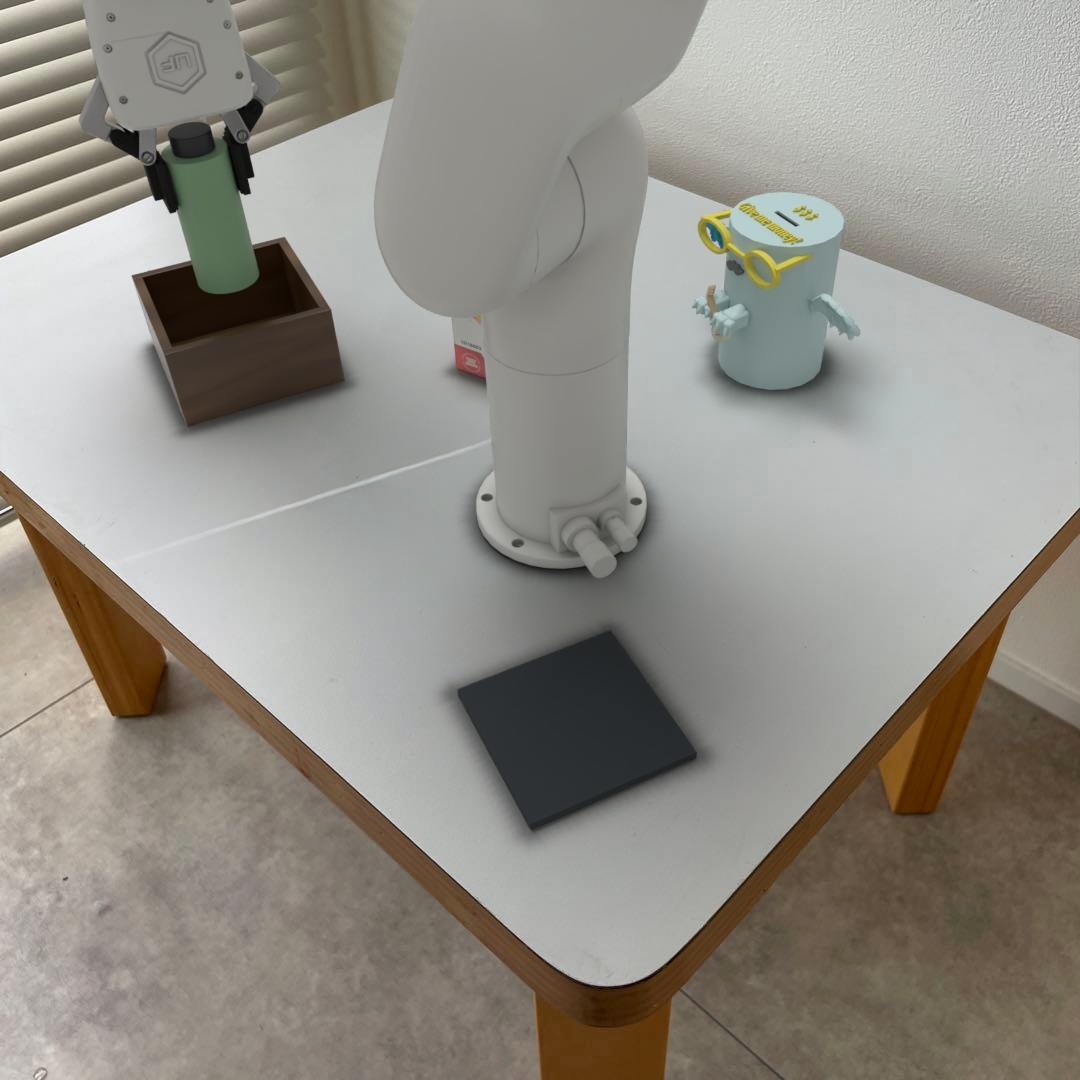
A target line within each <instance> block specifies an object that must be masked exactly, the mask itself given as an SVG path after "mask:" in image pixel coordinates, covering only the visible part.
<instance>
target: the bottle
mask: <svg viewBox="0 0 1080 1080" xmlns="http://www.w3.org/2000/svg"><path fill="white" fill-rule="evenodd" d="M167 138H168V142H169V144H168V145H167V146H165V147H164V148H163V149H162V150H161V152H160V155H161V157H162V159H163V160H164V162H165V164H166V167H167V171H168V174H169V178H170V181H171V185H172V188H173V192H174V195H175V199H176V202H177V206H178V209H179V210H176V213H177V216H178V220H179V224H180V227H181V230H182V234H183V238H184V241H185V243H186V245H185V246H186V249H187V252H188V254H189V258H190V260H191V262H192V265H193V269H194V272H195V276H196V279H197V282H198V286H199V287H200V288H201V289H202V290H203V291H206V292H208V293H213V294H228V293H233V292H237V291H240V290H243V289H245V288H247V287H249V286H251V285H252V284H253V283H254V282H255V281H256V280H257V279H258V277H259V270H258V266H257V262H256V258H255V254H254V250H253V246H252V245H253V242H252V239H251V234H250V229H249V225H248V221H247V218H246V214H245V210H244V206H243V201H242V198H241V193H240V191H239V189H238V185H237V181H236V177H235V173H234V169H233V165H232V161H231V157H230V153H229V149H228V145H227V143H226V142H225V141H224V140H223V139H222V137H218V136H214V135H213V131H212V128H211V126H210V125H209V123H206V122H203V121H190V122H189V121H187V122H182V123H179V124H176V125H175V126H173V127H172V128H170V129H169V130H168V132H167Z"/></svg>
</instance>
